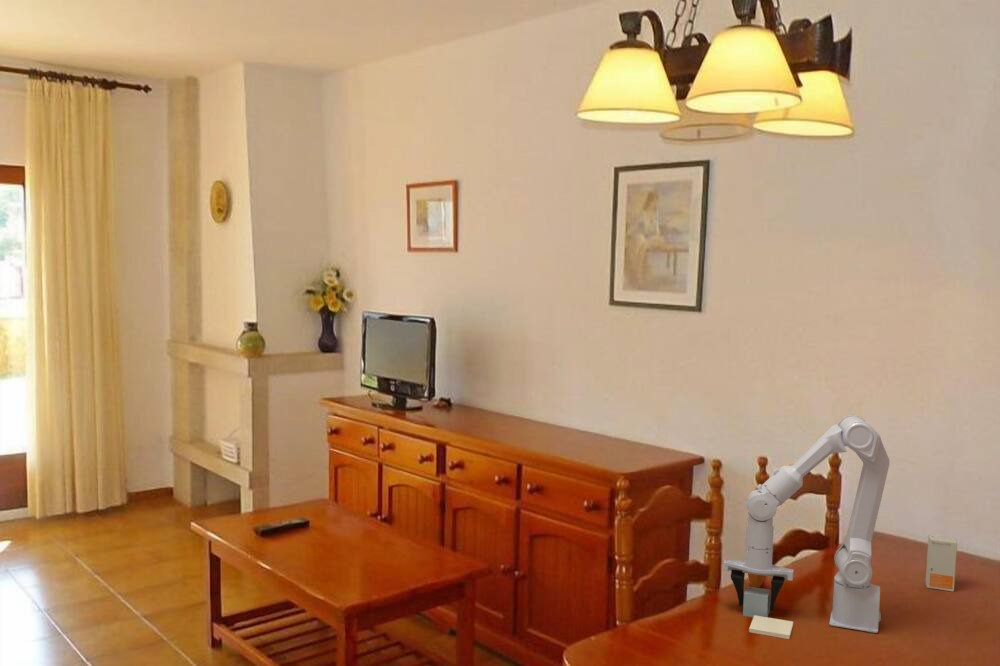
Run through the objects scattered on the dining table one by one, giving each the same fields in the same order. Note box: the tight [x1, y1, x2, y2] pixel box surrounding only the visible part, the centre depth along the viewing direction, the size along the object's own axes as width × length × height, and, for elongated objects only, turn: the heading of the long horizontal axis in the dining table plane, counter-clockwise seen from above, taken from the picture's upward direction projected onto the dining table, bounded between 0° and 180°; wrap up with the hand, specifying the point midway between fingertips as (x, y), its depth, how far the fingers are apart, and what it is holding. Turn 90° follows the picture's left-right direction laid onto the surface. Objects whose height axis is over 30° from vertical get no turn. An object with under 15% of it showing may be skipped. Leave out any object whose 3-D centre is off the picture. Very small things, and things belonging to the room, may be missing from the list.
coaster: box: [748, 615, 794, 640], centre depth 185 cm, size 8×8×1 cm
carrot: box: [747, 573, 766, 588], centre depth 208 cm, size 5×5×15 cm
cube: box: [742, 585, 771, 618], centre depth 194 cm, size 5×5×5 cm
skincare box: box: [925, 535, 958, 593], centre depth 213 cm, size 6×4×12 cm
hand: (756, 607), depth 194 cm, fingers open, 6 cm apart
